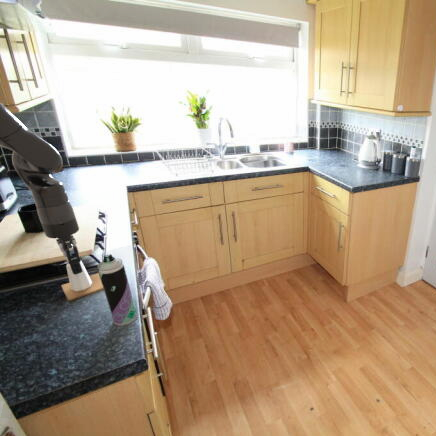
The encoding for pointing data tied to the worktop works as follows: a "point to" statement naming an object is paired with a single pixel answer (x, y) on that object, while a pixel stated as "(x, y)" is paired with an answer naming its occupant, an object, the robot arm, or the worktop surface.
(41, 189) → the robot arm
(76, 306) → the worktop surface
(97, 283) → the cork mat
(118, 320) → the spray can
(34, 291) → the worktop surface
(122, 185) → the worktop surface
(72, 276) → the pepper shaker
